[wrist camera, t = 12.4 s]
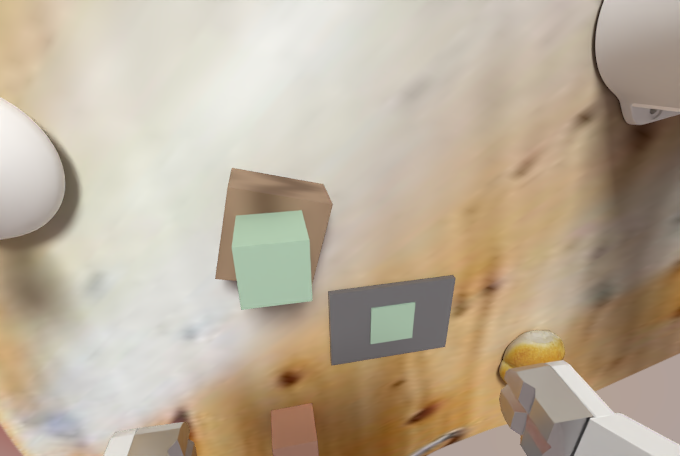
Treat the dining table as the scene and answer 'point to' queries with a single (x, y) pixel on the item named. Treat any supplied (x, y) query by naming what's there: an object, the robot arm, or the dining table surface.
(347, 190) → the dining table surface
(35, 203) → the flower in vase
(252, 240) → the green block
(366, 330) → the card
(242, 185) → the walnut base block
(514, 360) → the bread roll
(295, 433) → the terracotta block
